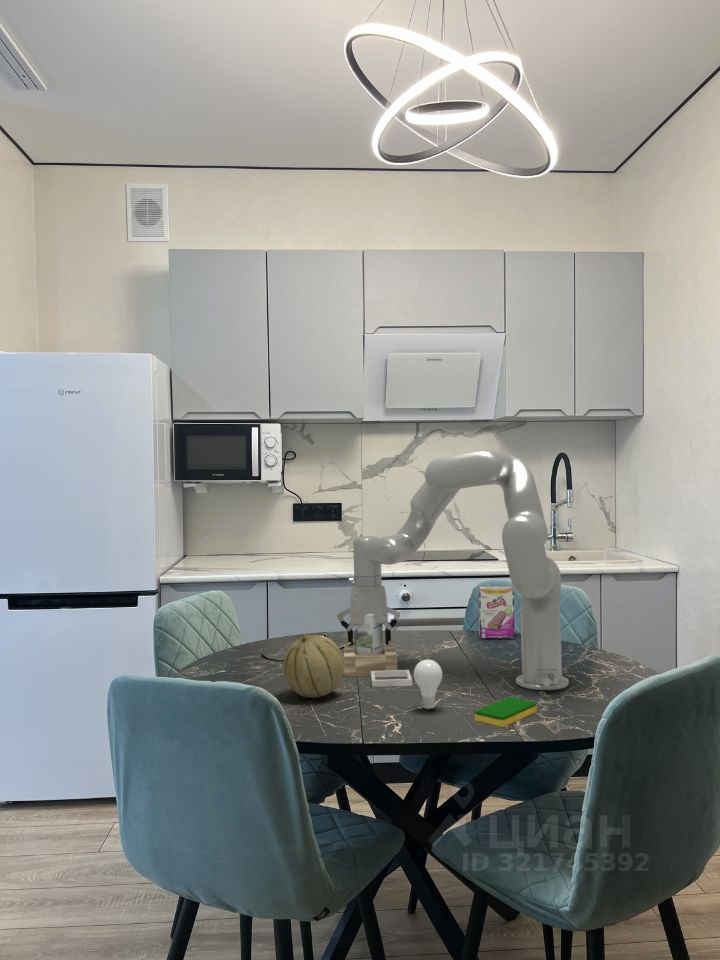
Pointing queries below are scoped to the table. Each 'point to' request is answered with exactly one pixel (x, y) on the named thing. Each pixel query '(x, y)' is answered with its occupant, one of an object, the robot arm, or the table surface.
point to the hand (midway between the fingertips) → (369, 644)
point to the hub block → (369, 661)
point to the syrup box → (369, 637)
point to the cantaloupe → (313, 666)
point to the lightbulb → (428, 681)
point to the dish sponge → (505, 711)
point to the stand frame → (392, 681)
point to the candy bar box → (496, 612)
